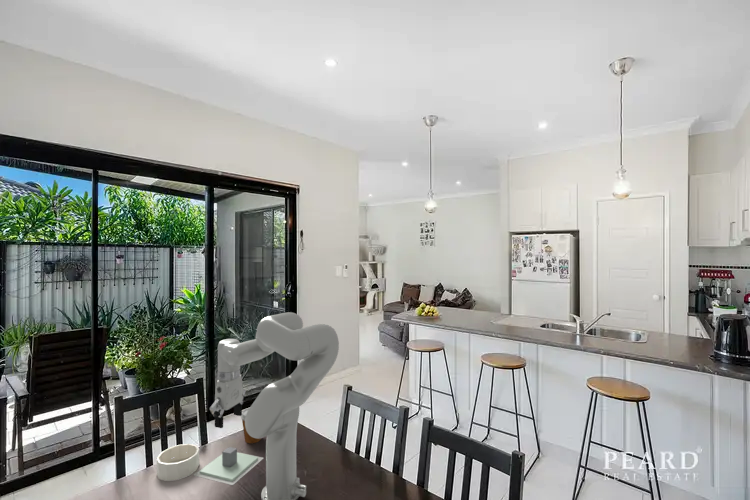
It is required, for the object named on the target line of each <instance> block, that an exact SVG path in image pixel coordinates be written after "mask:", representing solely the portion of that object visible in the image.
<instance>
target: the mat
mask: <svg viewBox="0 0 750 500" xmlns="http://www.w3.org/2000/svg"><path fill="white" fill-rule="evenodd" d="M237 453H241V454H246V455H251V456H255V457H258V460H257V461H256V462H254V463H253V464H252V465H251V466H250V467H249V468H247V469H246V470H245V471H244V472H243V473H242V474H240V475H239V476H238V477H237V478H236V479H235V480H234V481H228V480H224V479H220V478H216V477H212V476H208V475H204V474H200V470H202V469H203V468H205V467H206V466H207V465H209V464H210V463H211V462H213V461H214V460H215V459H217V458H218V457H219V456H221V455H222V453H221V454H219V455H218V456H217V457H215V458H214V459H213V460H211V461H209V462H208V463H207V464H206V465H204V466H203V467H202V468H200V469H199V470H197V472H196V471H195V472H194V473H193V476H194V477H199V478H202V479H206V480H211V481H213V482H218V483H220V484H226V485H229V486H234V485H235V484H236V483H237V482H239V480H241V479H242V478H243V477H244V476H245V475H246V474H247V473H249V472H250V471H251V470H253V468H254V467H256V466H257V465H258V464H259V463H260V462H261V461H263V460H264V457H263V456H257V455H253V454H248V453H243V452H238V451H237Z"/></svg>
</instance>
